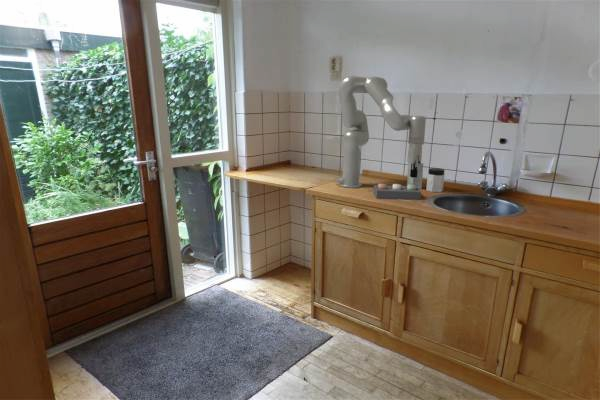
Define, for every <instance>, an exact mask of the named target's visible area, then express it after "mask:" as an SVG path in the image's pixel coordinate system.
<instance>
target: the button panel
mask: <svg viewBox="0 0 600 400" xmlns="http://www.w3.org/2000/svg"><path fill="white" fill-rule="evenodd" d="M392 187H393V185H387V188H386V189H378V184H377V185H375V184H373V195H374V197H375V198H376V199H382V200H383V199H385V200H415V201H416V200H417V201H418V200H419V201H420V200H421V197H422V191H421V190H420V189H417V188H416V190H407V185H405V186H404V185H401V190H392Z"/></svg>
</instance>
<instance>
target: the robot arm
mask: <svg viewBox="0 0 600 400" xmlns="http://www.w3.org/2000/svg"><path fill="white" fill-rule="evenodd" d="M337 92H338V98H339V99H338V100H339V103H340V105H339V106H340V111H341V119H342V123H343V126H344V127H346V128H348V129H349V128H350V129H351V128H352V129H351V130H347V131H346V132H345V133H344V134H343V136H342V146H343V163H342V176H341V177H339V178H338V177H337V178H336V177H335V178H334V182H337V183H339V186H340V187H342V188H350V189H357V188H361V187H362V183H361V182H360V174H361V173H360V172H361V149H360V147H363V146H365V145H367V143H368V142H369V139H370V133H369V126H368V119H367V115H366V113H365V112H364V111H362V110H359V109H357V101H356V98H355V96H354V93H357V94H368V95H369V96H370V97H371V98H372V99H373V101H374V102H375V103H376V104H377V106H378V107H379V110H380V113H381V116H382V118H383V119H384V121H385V122H386V123H387V125H388V126H389V127H390V128H391V129H393V130H394V131H396V132H397V131H399V132H400V131H406V130H408V131H409V132H408V140H407V141H408V152H407V160H406V161H407V163H408V162H409V163H410V164H411V170H410V177H417V172H418V164H421V163H422V158H423V146H424V145H425V134H426V123H427V122H426V121H427V120H426V119H427V118H426V116H424V115H413V116H412V115H410V114H400V113H399V112H398V110H397V109H396V108H395V106H394V105H393V101H394V96H393V94H391V92H390V91H389V90H388V82H387V80H386V79H385V78H384V77H380V76H370V77H367V76H366V77H365V76H354V75H350V76H347V77H345V78H344V79H342V81H340V83H339V86H338V91H337Z"/></svg>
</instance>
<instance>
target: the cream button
mask: <svg viewBox="0 0 600 400" xmlns="http://www.w3.org/2000/svg"><path fill="white" fill-rule="evenodd" d="M392 186H393V187H392V190H401V186H402V184H400V183H393V184H392Z"/></svg>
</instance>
